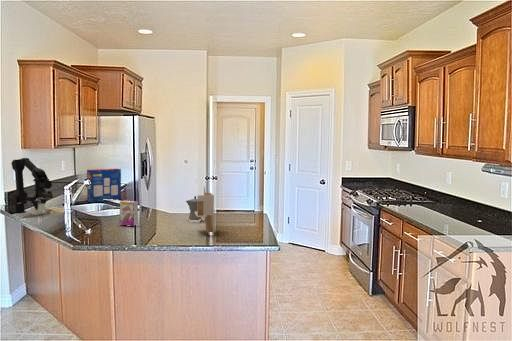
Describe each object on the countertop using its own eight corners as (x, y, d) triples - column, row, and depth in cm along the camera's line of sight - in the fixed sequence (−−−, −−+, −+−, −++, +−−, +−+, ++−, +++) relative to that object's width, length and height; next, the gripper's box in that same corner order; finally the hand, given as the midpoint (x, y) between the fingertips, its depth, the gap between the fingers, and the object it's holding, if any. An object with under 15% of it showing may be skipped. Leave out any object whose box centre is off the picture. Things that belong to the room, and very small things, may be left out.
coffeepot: (186, 223, 294) (186, 197, 292) (184, 220, 303) (184, 195, 301) (208, 222, 298) (208, 196, 297) (206, 219, 307) (206, 195, 306)
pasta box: (116, 198, 398) (116, 168, 396) (121, 199, 393) (120, 169, 390) (87, 201, 379) (87, 169, 376) (91, 202, 373) (91, 170, 371)
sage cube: (34, 210, 306) (34, 203, 305) (40, 209, 310) (40, 203, 310) (39, 211, 304) (39, 204, 303) (45, 210, 308) (45, 203, 308)
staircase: (197, 236, 257) (198, 189, 255) (194, 230, 273) (194, 186, 270) (214, 236, 260) (214, 189, 257) (209, 230, 275) (210, 185, 273)
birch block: (44, 214, 317) (44, 208, 316) (56, 212, 326) (56, 206, 325) (54, 215, 313) (54, 210, 312) (65, 213, 322) (65, 208, 321)
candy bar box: (119, 225, 280) (119, 201, 279) (124, 224, 285) (123, 200, 284) (133, 227, 277) (133, 202, 275) (138, 226, 282) (138, 201, 280)
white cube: (31, 214, 314) (31, 207, 314) (36, 213, 319) (36, 206, 318) (36, 214, 312) (36, 207, 312) (41, 213, 317) (41, 207, 316)
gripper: (36, 189, 294) (37, 212, 295) (58, 187, 311) (58, 208, 313) (24, 188, 298) (25, 210, 299) (46, 186, 315) (47, 206, 317)
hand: (39, 209), depth 307 cm, fingers closed on sage cube, 5 cm apart
